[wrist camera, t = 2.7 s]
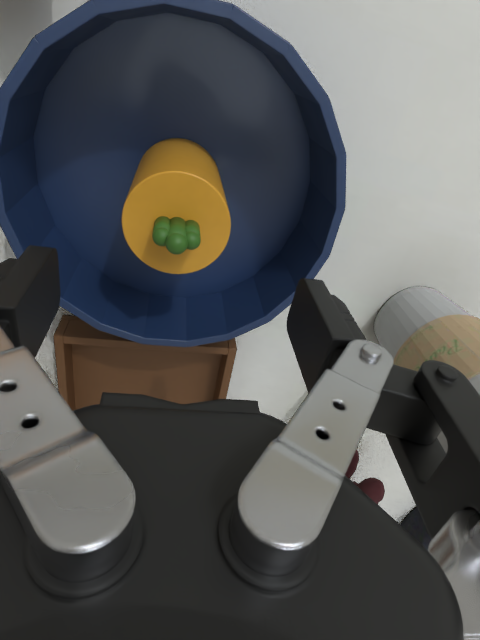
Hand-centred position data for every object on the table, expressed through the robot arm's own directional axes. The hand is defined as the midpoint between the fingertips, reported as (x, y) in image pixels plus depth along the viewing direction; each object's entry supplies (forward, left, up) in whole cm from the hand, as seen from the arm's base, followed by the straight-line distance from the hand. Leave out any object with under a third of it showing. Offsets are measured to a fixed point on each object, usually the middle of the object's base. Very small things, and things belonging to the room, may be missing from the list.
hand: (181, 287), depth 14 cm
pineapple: (0, 0, -12) cm, 12 cm away
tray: (-1, -17, -13) cm, 21 cm away
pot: (0, 0, -13) cm, 13 cm away
